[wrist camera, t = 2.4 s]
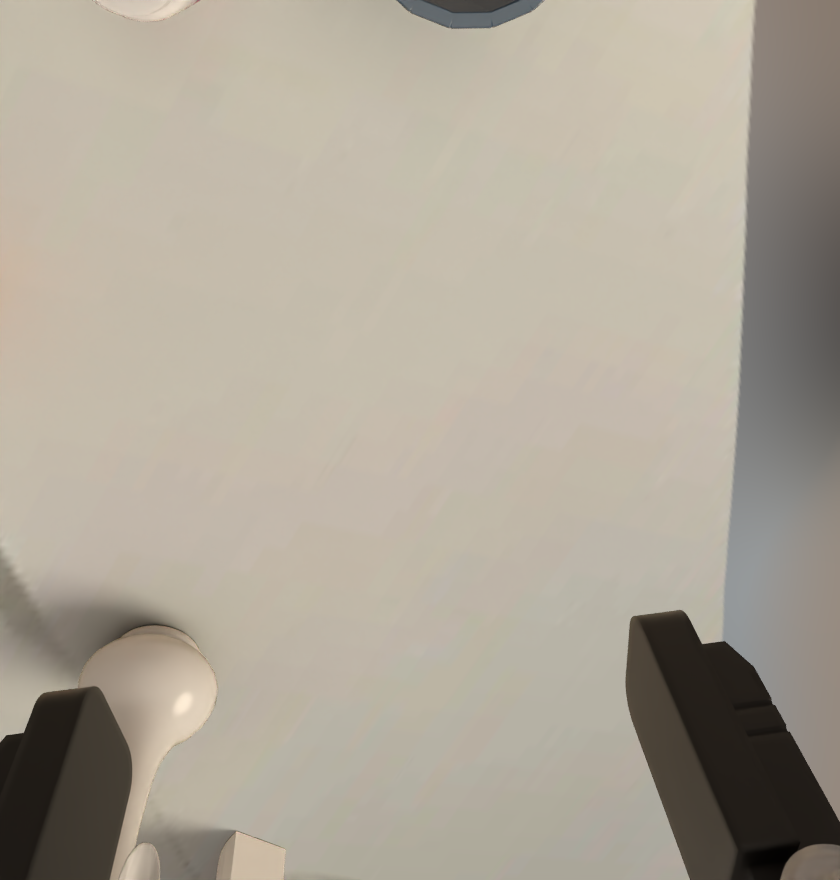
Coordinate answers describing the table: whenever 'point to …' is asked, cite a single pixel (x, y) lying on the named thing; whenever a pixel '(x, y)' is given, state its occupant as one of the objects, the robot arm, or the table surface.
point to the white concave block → (250, 859)
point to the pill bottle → (145, 8)
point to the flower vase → (150, 718)
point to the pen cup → (470, 11)
